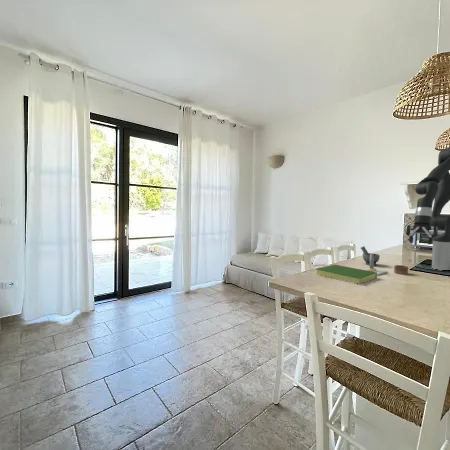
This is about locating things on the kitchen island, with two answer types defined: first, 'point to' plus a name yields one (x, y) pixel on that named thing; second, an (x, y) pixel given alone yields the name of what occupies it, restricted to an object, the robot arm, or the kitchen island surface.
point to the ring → (400, 269)
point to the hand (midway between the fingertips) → (420, 243)
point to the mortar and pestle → (367, 256)
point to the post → (379, 272)
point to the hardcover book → (347, 273)
